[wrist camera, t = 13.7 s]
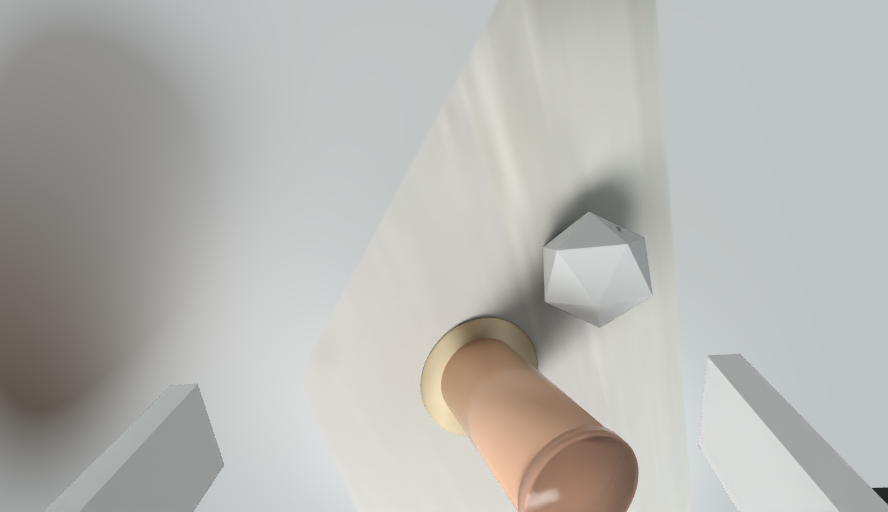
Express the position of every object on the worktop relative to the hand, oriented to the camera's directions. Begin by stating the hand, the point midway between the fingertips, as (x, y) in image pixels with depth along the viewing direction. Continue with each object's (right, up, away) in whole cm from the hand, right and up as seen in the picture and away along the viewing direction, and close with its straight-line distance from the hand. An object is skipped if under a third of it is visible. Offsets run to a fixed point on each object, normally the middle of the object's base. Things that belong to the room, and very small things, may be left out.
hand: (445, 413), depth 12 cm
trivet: (+3, -7, +30) cm, 30 cm away
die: (+11, +4, +30) cm, 32 cm away
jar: (+3, -7, +29) cm, 30 cm away
